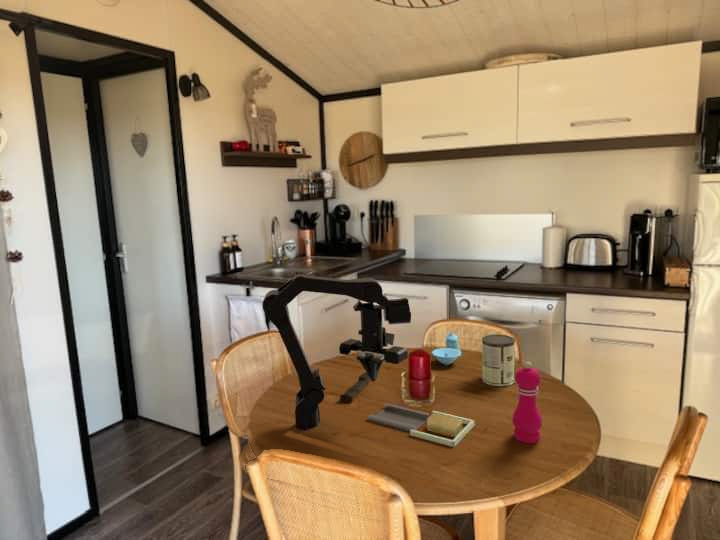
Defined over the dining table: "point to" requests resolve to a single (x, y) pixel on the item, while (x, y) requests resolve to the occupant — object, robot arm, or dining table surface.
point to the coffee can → (498, 360)
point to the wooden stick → (355, 389)
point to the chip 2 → (451, 426)
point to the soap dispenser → (448, 350)
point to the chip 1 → (435, 422)
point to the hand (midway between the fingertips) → (373, 381)
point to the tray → (445, 441)
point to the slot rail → (400, 417)
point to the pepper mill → (527, 405)
